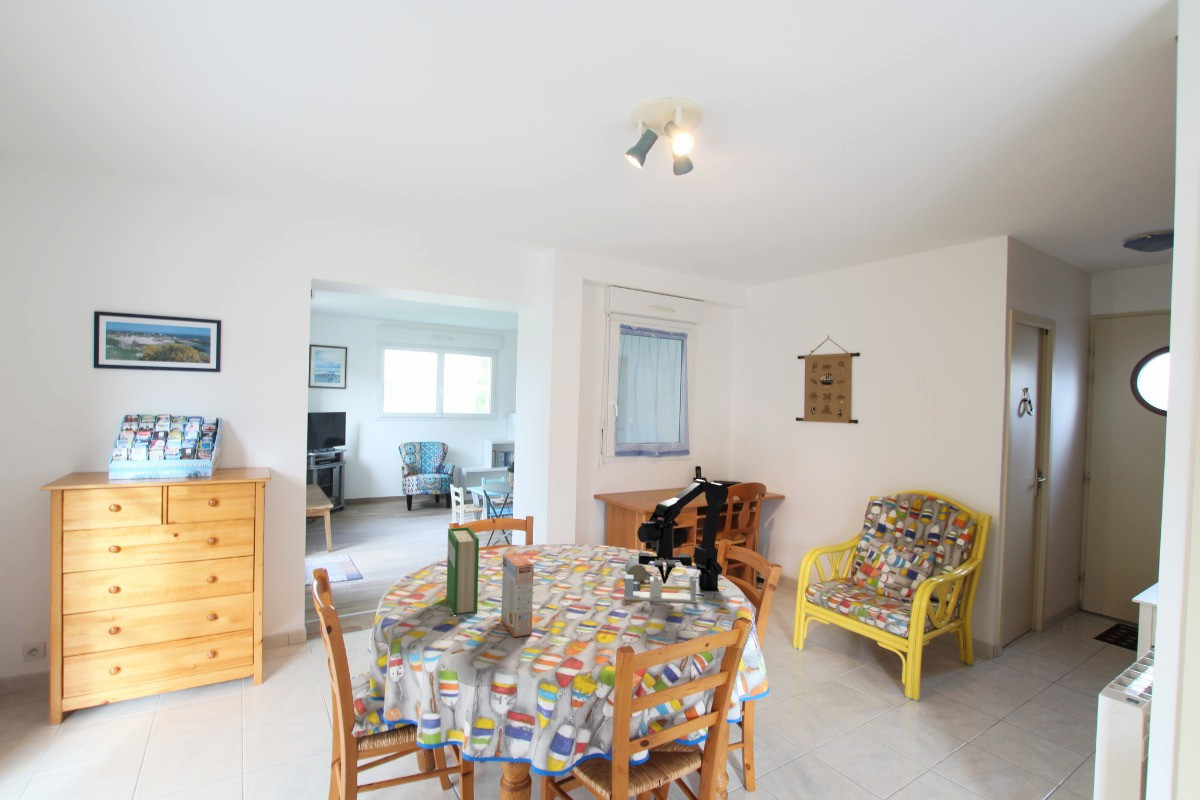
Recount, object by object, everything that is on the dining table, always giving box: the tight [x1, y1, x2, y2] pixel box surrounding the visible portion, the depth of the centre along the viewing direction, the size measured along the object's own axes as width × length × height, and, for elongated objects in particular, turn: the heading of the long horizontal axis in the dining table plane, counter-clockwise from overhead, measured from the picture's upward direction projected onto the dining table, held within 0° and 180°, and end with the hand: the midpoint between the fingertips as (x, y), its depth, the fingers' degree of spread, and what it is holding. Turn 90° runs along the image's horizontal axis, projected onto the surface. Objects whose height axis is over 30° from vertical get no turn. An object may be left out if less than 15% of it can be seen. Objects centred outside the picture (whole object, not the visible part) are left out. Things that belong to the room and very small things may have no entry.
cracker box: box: [500, 552, 535, 638], centre depth 164 cm, size 14×6×21 cm, turn 25°
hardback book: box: [446, 526, 480, 616], centre depth 181 cm, size 18×7×24 cm, turn 23°
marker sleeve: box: [649, 576, 663, 597], centre depth 192 cm, size 4×5×6 cm
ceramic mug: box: [624, 557, 654, 583], centre depth 211 cm, size 11×8×8 cm
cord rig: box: [624, 574, 697, 603], centre depth 192 cm, size 25×7×7 cm, turn 87°
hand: (664, 583), depth 192 cm, fingers closed
